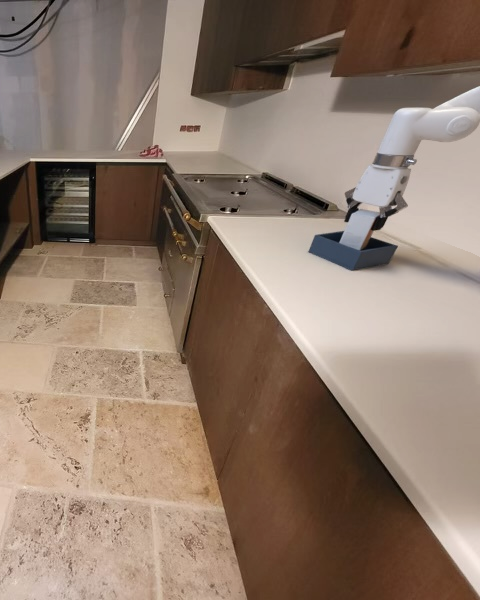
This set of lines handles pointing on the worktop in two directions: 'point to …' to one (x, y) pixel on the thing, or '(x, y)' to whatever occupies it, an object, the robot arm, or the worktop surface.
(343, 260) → the tray
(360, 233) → the small box
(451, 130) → the robot arm
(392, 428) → the worktop surface
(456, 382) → the worktop surface
